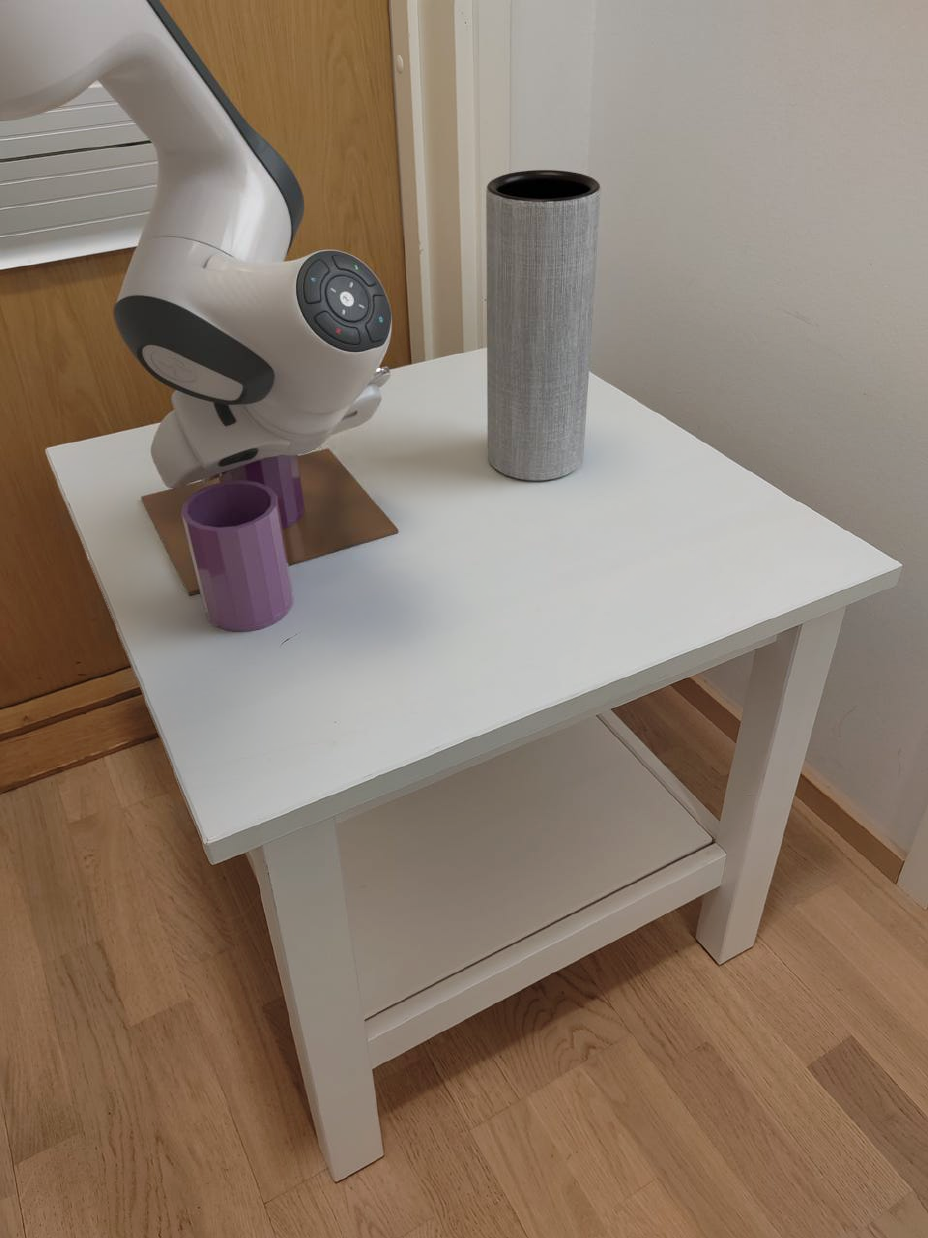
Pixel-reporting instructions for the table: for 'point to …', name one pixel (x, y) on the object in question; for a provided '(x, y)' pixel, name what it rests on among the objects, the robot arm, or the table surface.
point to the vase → (539, 319)
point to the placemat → (325, 527)
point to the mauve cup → (239, 554)
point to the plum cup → (275, 483)
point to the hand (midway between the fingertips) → (252, 457)
